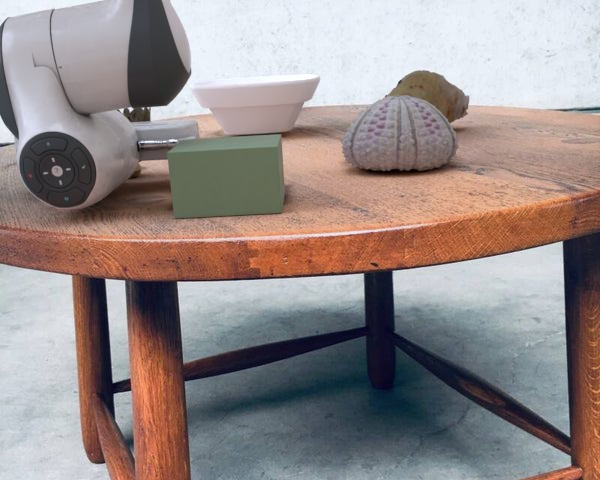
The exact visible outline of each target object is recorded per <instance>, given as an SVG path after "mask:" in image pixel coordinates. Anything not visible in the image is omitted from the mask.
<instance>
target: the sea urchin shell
mask: <svg viewBox="0 0 600 480" xmlns="http://www.w3.org/2000/svg"><path fill="white" fill-rule="evenodd" d="M384 97H385V96H384ZM384 97H383V98H381V99H380V100H379V99H377V100H376V101H374V102H372V104H369V105H367V106H366V107H365V109H364V110H362V111H359V112H358V115H357V116H356V118H353V119H352V120H351V121H352V123H351V125H349V126H348V127H347V131H346V132H345V133H344V134H343V135H342V136H343V140H342V141H340V143H341V148H342V151H341V153H342V154H343V158H345V161H346V162H347V163H348V164H351V166H354V168H359V169H364V170H371V171H383V172H385V171H388V172H389V171H392V170H399V171H400V172H402V171H407V172H408V171H411V170H417V171H419V172H420V171H427V170H433V169H434V168H440V167H442V165H447V163H450V162H451V161H453V157H455V156H456V154H457V151H458V149H459V147H460V146H459V143H458V142H459V138H458V137H457V131H455V130H454V126H452V123H449V122H448V120H447V119H446V117H445V116H444V115H442V113H441V112H440V111H439V110H438V109H437V108H436V107H435V106H433V105H432V104H430V103H428V101H425V100H422V99H419V98H414V97H411V96H408V95H403V96H398V95H397V96H387V97H385V98H384Z"/></svg>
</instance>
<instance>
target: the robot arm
mask: <svg viewBox="0 0 600 480" xmlns="http://www.w3.org/2000/svg"><path fill="white" fill-rule="evenodd" d="M191 76H192V52H191V47H190V42H189V39H188V36H187V33H186V30H185V27H184V25H183V23H182V21H181V19H180V16H179V15H178V13H177V12H176V10H175V8H174V6H173V4H172V3H171V0H98V1H97V0H96V1H93V2H87V3H82V4H77V5H71V6H67V7H59V8H50V9H43V10H38V11H33V12H29V13H24V14H20V15H19V14H18V15H15V16H7V17H6V18H5V19H4V21H2V23H0V118H1V120H2V122H3V124H4V126H5V127H6V128H7V130H8V131H9V132H10V133H11V134H12V135H13V139H14V140H13V141H14V147H15V154H16V166H17V170H18V174H19V177H20V179H21V181H22V184H23V185H24V186H25V188H26V189H27V191H28V192H29V193H30V194H31V195H32V196H33V197H34V198H35V199H37V200H38V201H40V202H41V203H42V204H45V205H46V206H49V207H51V208H54V209H57V210H58V209H59V210H66V211H73V210H75V211H76V210H81V209H85V208H87V207H88V208H89V207H90V206H93V205H94V204H97V203H99V202H100V201H102V200H103V199H105V198H107V196H109V195H110V194H111V193H112V192H114V191H115V190H116V189H117V188H119V187H121V185H122V184H124V183H125V182H126V181H128V180H129V179H130V178H129V177H130V176H131V175H132V174H133V172H134V171H135V169H136V167H137V165H138V162H139V161H141V162H147V161H148V162H150V161H165V160H166V161H168V156H167V152H169V151H170V150H171V149H172V148H173V147H174V146H176V145H177V144H178V143H179V142H180V141H182V140H186V139H201V138H200V129H199V123H198V121H197V120H196V119H190V118H189V119H170V120H169V119H168V120H151V121H146V122H130V121H129V120H128V119H127V118H126V117H125V116H124V115H123V114H124V113H123V112H121V111H120V112H121V113H120V112H119V111H117V110H118V109H119V110H124V108H128V109H129V108H131V109H132V110H133V109H134V108H142V109H144V108H146V107H147V108H150V107H151V108H159V107H167V106H169V105H170V104H171V103H172V102H173V101H174V100H175V99H176V98H177V96H178V95H179V94H180V93H181V91H182V90H183V89H184V88H185V86H186V85H187V84H188V81H189V79H190V78H191ZM122 113H123V114H122ZM139 163H140V162H139Z"/></svg>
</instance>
